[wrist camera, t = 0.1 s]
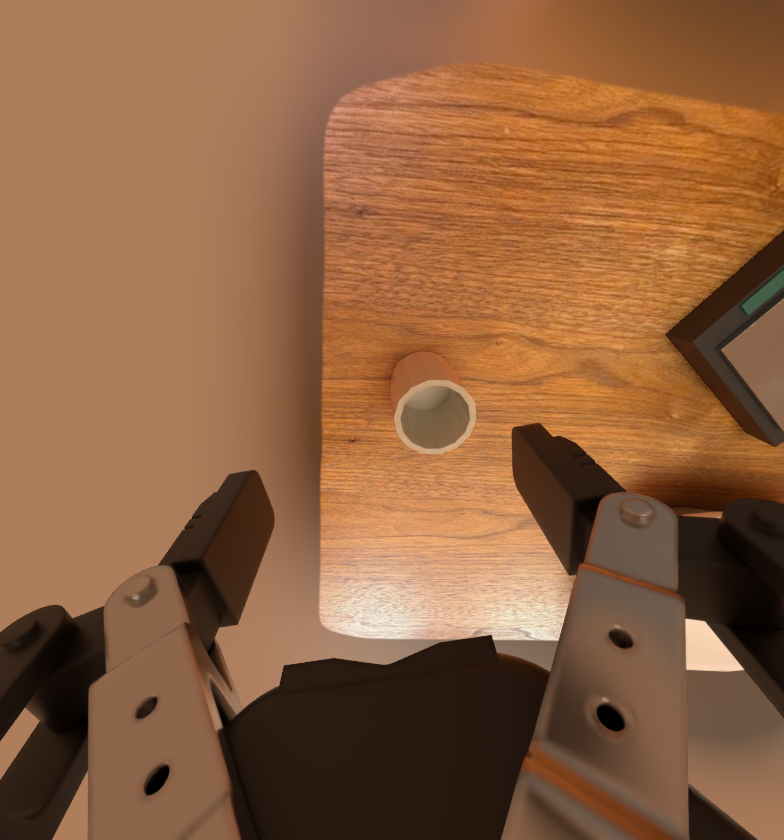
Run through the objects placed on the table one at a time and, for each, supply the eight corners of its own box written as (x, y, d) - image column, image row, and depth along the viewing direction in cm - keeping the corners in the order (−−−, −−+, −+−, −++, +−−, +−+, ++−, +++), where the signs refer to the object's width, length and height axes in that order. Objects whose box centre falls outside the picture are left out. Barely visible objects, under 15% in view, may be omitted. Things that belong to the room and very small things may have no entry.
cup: (377, 387, 33) (377, 425, 26) (420, 336, 31) (434, 362, 24) (424, 423, 35) (436, 468, 28) (468, 378, 33) (493, 413, 26)
